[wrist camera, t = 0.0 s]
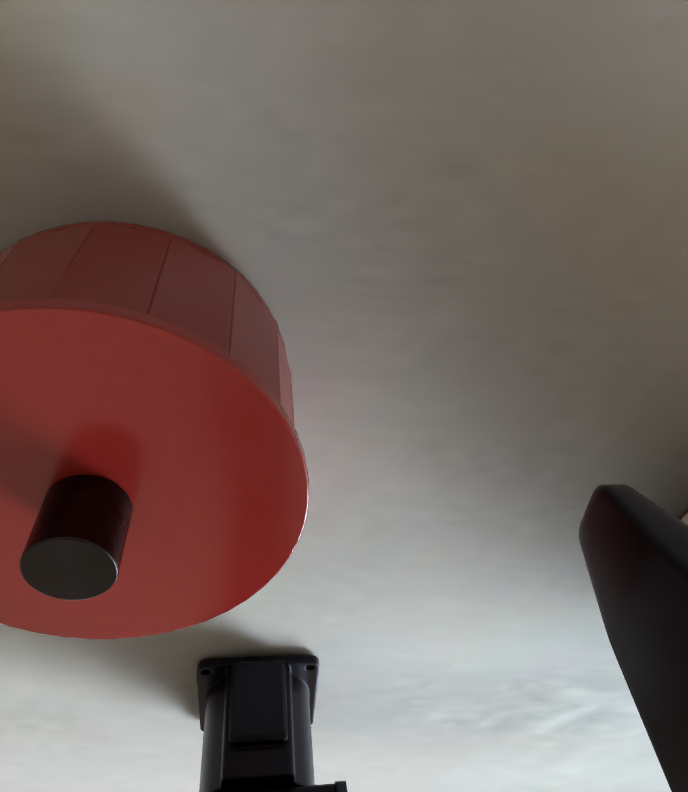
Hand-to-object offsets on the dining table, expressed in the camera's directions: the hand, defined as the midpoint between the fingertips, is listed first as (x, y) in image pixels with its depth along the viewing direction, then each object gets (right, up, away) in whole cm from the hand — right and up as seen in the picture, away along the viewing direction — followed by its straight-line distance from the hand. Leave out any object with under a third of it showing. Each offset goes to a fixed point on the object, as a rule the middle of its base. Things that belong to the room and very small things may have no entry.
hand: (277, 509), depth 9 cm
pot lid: (-6, -1, +10) cm, 12 cm away
